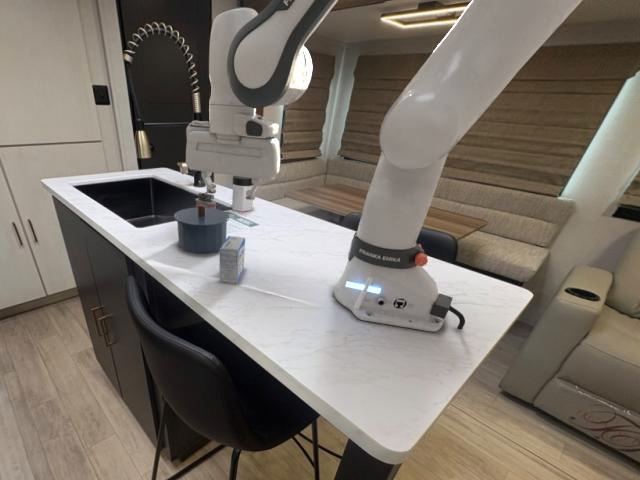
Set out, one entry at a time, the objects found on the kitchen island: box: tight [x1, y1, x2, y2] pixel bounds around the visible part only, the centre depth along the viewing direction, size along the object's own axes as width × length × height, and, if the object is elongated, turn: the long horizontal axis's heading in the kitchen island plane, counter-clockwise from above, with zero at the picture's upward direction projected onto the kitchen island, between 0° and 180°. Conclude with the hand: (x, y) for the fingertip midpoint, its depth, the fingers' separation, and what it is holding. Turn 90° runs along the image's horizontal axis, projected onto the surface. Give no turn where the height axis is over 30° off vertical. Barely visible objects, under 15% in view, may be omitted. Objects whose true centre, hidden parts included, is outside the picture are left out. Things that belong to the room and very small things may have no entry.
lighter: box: [194, 191, 217, 209], centre depth 103 cm, size 8×3×10 cm, turn 55°
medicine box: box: [219, 235, 246, 285], centre depth 73 cm, size 8×4×9 cm, turn 168°
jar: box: [231, 175, 254, 213], centre depth 118 cm, size 9×8×12 cm
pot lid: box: [173, 204, 230, 227], centre depth 84 cm, size 15×15×4 cm
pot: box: [177, 221, 228, 255], centre depth 87 cm, size 13×14×8 cm
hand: (230, 196), depth 67 cm, fingers open, 8 cm apart
